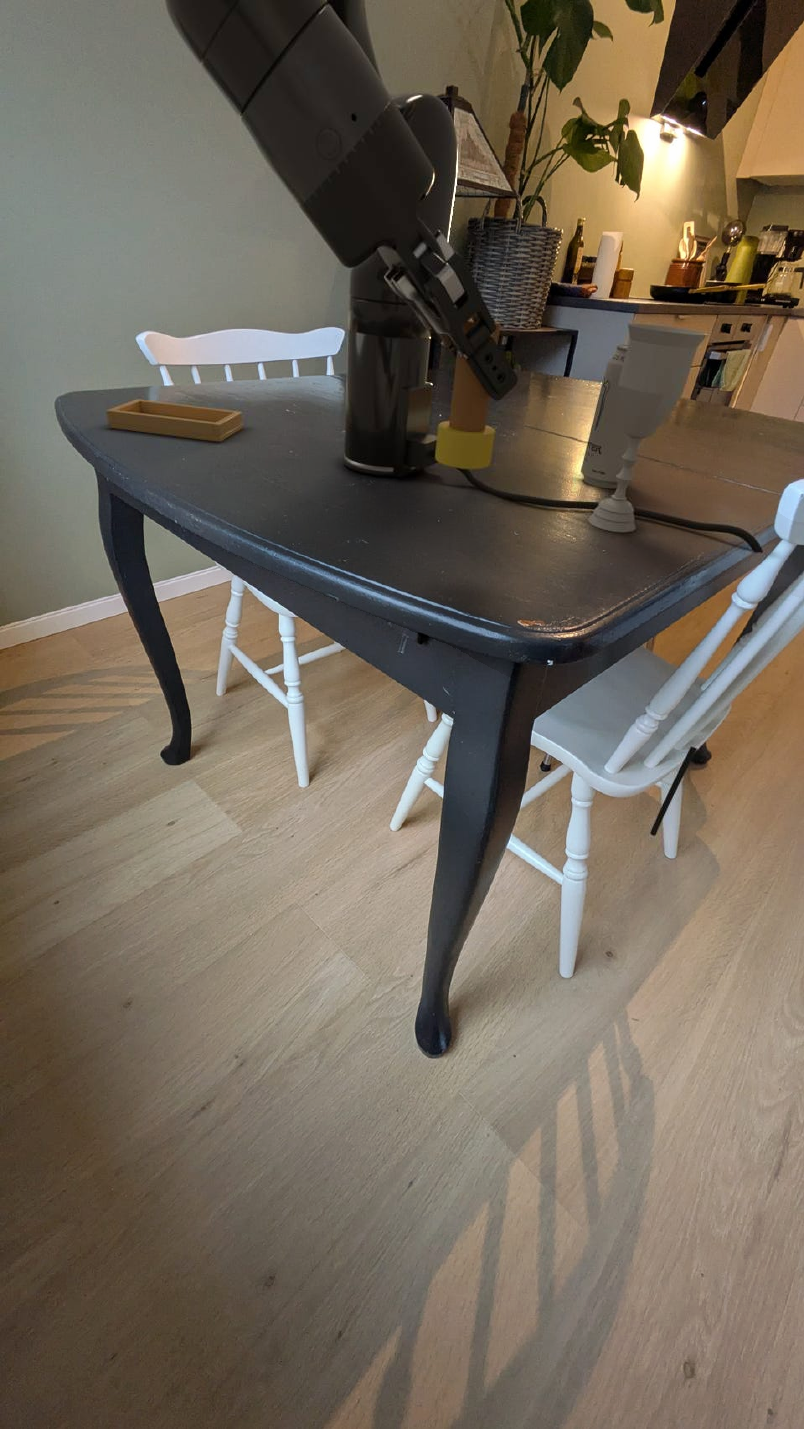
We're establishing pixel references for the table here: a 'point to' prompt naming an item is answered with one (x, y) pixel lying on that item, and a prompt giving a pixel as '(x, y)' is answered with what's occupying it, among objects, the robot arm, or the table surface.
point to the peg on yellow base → (466, 419)
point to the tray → (175, 420)
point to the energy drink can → (607, 430)
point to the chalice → (646, 403)
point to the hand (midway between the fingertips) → (498, 385)
